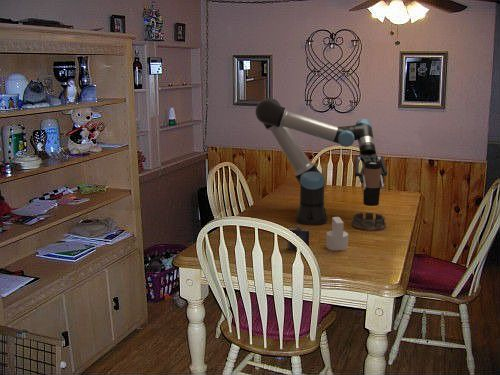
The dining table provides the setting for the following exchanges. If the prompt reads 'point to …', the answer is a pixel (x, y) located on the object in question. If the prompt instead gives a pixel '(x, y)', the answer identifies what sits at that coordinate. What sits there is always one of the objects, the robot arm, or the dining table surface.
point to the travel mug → (372, 183)
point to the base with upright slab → (337, 236)
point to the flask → (301, 233)
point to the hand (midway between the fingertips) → (373, 188)
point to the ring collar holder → (368, 222)
